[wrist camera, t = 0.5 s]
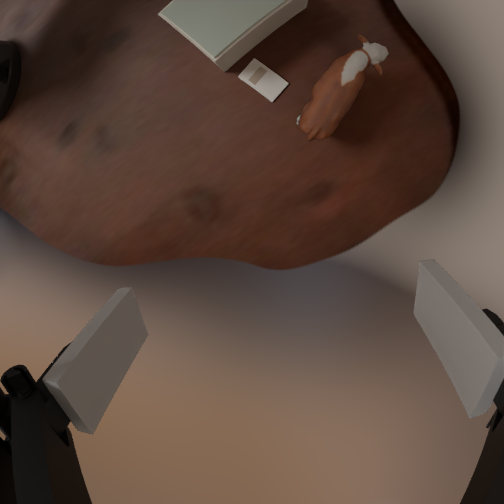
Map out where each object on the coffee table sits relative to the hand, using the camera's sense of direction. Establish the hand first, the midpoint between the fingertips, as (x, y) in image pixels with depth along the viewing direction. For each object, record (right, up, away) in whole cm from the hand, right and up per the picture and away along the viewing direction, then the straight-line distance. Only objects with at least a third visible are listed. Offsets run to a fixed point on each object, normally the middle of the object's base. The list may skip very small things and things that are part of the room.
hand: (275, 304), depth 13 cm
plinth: (-2, +30, +15) cm, 33 cm away
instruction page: (0, +22, +18) cm, 28 cm away
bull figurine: (+8, +21, +18) cm, 28 cm away
